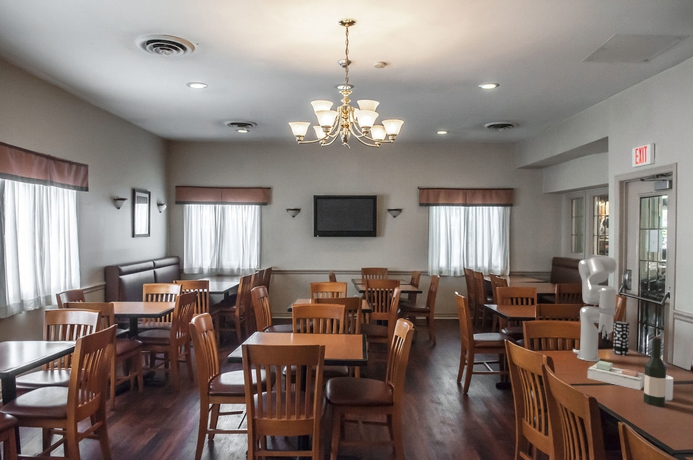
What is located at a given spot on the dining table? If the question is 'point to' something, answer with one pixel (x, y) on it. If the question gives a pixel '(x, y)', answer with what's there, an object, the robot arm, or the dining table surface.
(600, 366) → the sage key
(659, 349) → the wine bottle
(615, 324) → the spotted tube
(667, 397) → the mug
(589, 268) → the robot arm
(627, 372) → the terracotta key
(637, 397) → the dining table surface
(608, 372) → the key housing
